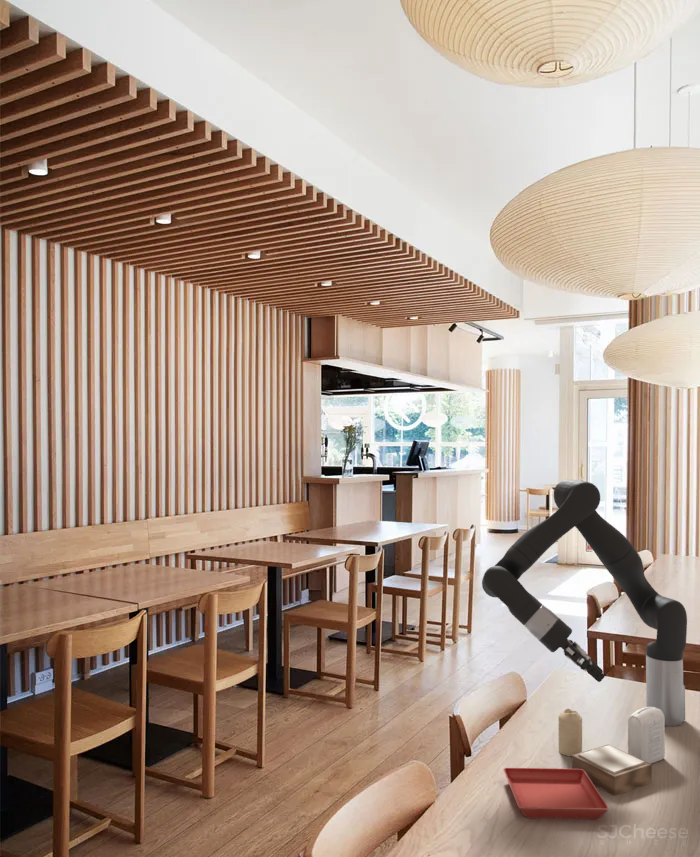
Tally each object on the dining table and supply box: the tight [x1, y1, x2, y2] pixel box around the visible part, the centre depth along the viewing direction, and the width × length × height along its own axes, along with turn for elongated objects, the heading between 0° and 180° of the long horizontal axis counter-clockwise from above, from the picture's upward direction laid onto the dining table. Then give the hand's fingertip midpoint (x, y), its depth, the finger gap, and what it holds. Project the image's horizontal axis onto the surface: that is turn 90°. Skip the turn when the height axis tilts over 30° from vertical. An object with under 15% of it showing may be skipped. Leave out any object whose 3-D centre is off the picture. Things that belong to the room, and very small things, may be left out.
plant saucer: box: [502, 767, 610, 820], centre depth 150 cm, size 18×18×3 cm
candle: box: [558, 708, 583, 757], centre depth 174 cm, size 6×6×10 cm
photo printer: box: [627, 706, 666, 764], centre depth 169 cm, size 10×4×12 cm, turn 123°
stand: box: [571, 744, 653, 796], centre depth 160 cm, size 12×12×4 cm
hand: (601, 676), depth 171 cm, fingers open, 8 cm apart
